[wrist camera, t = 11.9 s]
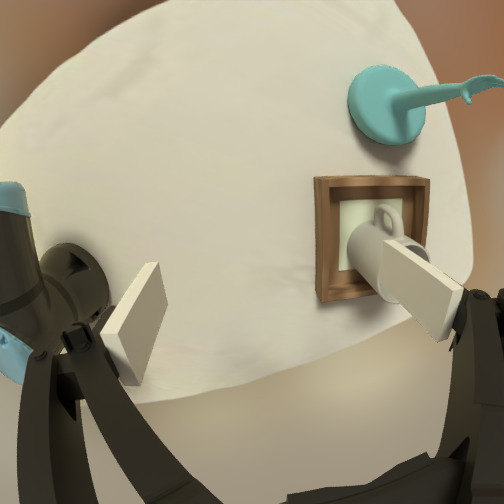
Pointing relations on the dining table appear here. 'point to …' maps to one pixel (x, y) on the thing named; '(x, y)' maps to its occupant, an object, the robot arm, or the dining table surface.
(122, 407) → the robot arm
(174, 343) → the dining table surface
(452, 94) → the teal branch stand
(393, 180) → the walnut box
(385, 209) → the mug
